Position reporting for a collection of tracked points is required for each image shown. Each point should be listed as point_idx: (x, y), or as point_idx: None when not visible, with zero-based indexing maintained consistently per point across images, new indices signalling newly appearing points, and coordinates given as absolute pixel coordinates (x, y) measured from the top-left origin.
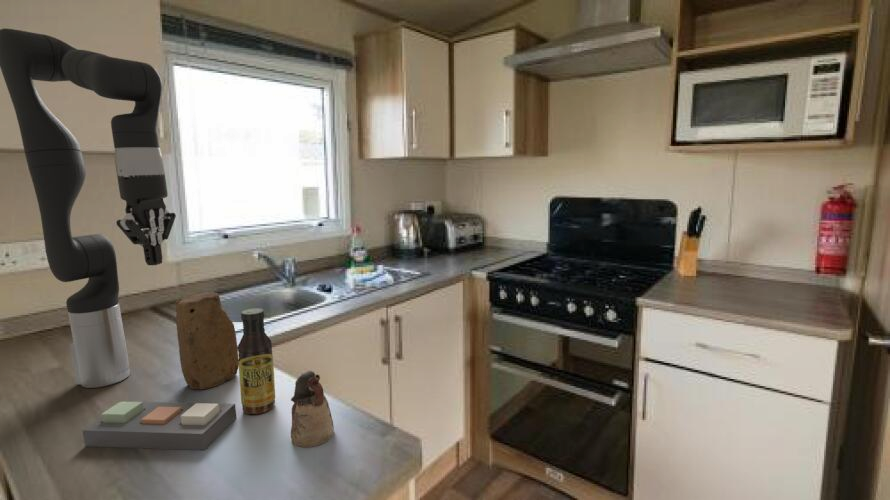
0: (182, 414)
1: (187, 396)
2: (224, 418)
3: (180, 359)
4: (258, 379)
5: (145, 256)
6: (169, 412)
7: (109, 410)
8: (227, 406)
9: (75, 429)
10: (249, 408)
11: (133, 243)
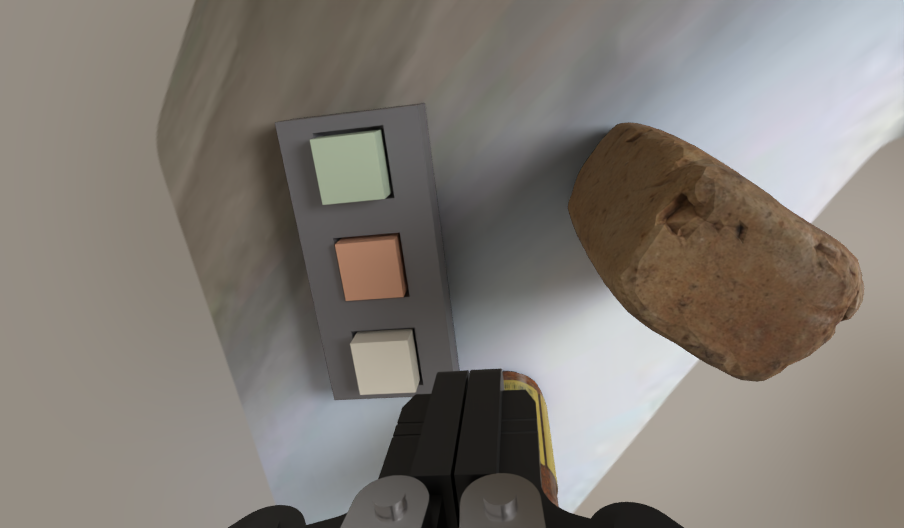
0: (356, 343)
1: (543, 184)
2: None
3: (622, 132)
4: None
5: (398, 435)
6: (376, 287)
7: (328, 145)
8: None
9: (339, 11)
10: None
11: (243, 522)
